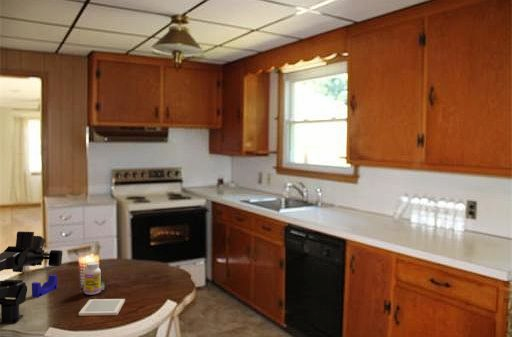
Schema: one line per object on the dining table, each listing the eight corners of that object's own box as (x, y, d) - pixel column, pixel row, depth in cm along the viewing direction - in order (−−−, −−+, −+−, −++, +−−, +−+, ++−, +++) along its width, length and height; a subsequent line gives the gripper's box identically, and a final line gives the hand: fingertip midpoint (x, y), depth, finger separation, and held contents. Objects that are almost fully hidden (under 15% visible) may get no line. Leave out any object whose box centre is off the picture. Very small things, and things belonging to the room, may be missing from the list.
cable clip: (48, 287, 191) (47, 274, 190) (57, 288, 190) (56, 275, 189) (28, 297, 179) (28, 283, 179) (38, 298, 178) (38, 283, 178)
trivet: (116, 315, 162) (116, 312, 162) (78, 315, 161) (78, 312, 161) (124, 301, 176) (124, 298, 176) (89, 301, 175) (89, 299, 174)
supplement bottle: (83, 295, 181) (83, 265, 180) (85, 290, 188) (84, 261, 187) (100, 294, 183) (100, 264, 182) (101, 289, 189) (101, 260, 189)
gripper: (52, 238, 165) (73, 237, 180) (6, 236, 167) (31, 236, 182) (49, 267, 163) (70, 264, 179) (3, 265, 165) (28, 262, 180)
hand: (49, 256), depth 180 cm, fingers open, 9 cm apart
